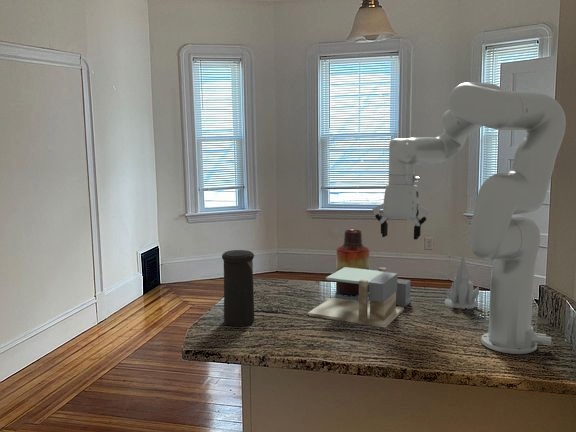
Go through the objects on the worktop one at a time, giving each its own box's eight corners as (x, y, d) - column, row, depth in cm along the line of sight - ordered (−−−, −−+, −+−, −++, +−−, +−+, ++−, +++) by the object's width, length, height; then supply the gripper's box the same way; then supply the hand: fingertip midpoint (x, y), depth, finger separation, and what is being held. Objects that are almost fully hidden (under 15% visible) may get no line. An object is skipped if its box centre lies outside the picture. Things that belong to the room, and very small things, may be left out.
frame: (404, 309, 163) (404, 269, 161) (385, 328, 147) (385, 284, 146) (332, 299, 173) (332, 262, 172) (307, 315, 158) (307, 274, 156)
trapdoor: (397, 289, 161) (398, 272, 160) (382, 302, 149) (382, 284, 148) (344, 283, 169) (344, 267, 168) (325, 294, 156) (325, 277, 156)
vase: (371, 296, 177) (372, 233, 174) (337, 296, 177) (337, 233, 174) (366, 287, 187) (367, 228, 184) (334, 287, 187) (335, 228, 185)
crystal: (474, 297, 175) (475, 251, 172) (481, 310, 162) (483, 260, 160) (441, 296, 176) (442, 250, 174) (446, 309, 163) (448, 259, 161)
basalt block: (410, 302, 170) (410, 280, 169) (405, 306, 166) (405, 284, 165) (394, 300, 172) (394, 278, 171) (389, 304, 168) (389, 282, 167)
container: (261, 321, 154) (260, 250, 151) (237, 329, 147) (235, 255, 144) (240, 314, 159) (239, 246, 157) (216, 322, 153) (214, 251, 150)
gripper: (433, 180, 163) (432, 237, 165) (377, 178, 171) (376, 233, 173) (427, 182, 156) (426, 242, 159) (369, 180, 164) (368, 237, 167)
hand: (400, 237), depth 166 cm, fingers open, 9 cm apart
